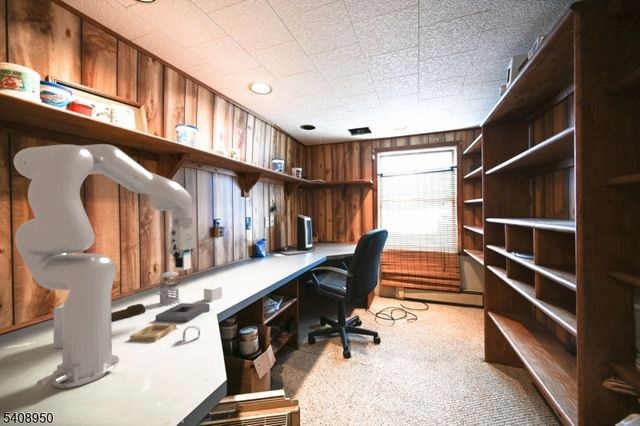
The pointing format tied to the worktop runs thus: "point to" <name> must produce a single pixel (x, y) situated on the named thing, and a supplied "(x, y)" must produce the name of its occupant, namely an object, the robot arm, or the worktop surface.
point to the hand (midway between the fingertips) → (183, 265)
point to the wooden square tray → (153, 332)
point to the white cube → (212, 293)
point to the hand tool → (128, 312)
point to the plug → (185, 261)
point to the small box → (58, 327)
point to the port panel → (182, 312)
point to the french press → (172, 285)
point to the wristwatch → (190, 327)
